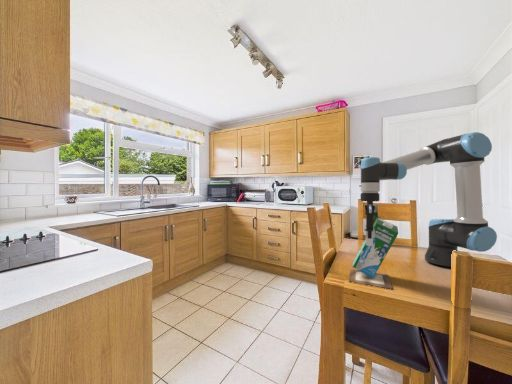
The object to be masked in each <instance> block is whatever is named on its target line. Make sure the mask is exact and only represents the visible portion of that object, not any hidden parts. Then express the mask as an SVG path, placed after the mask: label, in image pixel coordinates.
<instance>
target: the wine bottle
mask: <svg viewBox="0 0 512 384" xmlns="http://www.w3.org/2000/svg"><path fill="white" fill-rule="evenodd" d="M374 205H375V210H374V216H373V225H374V223H375V221H376V219H377V218H380V216H379V213H378V212H379V211H378V207H379V206H378V204H374Z"/></svg>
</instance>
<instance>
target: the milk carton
mask: <svg viewBox="0 0 512 384" xmlns="http://www.w3.org/2000/svg"><path fill="white" fill-rule="evenodd" d="M398 235H399V228H398V226H396V225H395V224H392V223H391V222H388V221H386V220H384V219H381V217H379V218H377V219H376V221H375V223H374V225H373V246H367V245H366V238H365V239H364V241H363V243H362V245H361V247H360V249H359V251H358V253H357V254H356V256H355V258H354V260H353V262H352V268H353V269H354V270H359V271H361V272H362V273H364V274H366V275H368V276H369V277H371V278H374V276H375V274H376V273H378V270H379V269H380V267H381V265H382V263H383V261H384V260H385V258H386V256H387V254H388V253H389V251H390V249H391V247H392V246H393V244H394V242H395V240H396V239H397V237H398Z"/></svg>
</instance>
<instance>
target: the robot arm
mask: <svg viewBox="0 0 512 384" xmlns="http://www.w3.org/2000/svg"><path fill="white" fill-rule="evenodd" d="M492 144H493V143H492V142H491V139H490V138H489V137H488V136H486V135H485V134H484V133H483V132H476V131H475V132H468V133H464V134H460V135H456V136H452V137H448V138H444V139H441V140H438V141H437V142H434V143H431V144H429V145H426V146H423V147H421V148H419V150H417V151H415V152H411V153H407V154H405V155H402V156H398V157H396V158H392V159H390V160H385V161H383V162H381V158H380V157H375V156H372V157H364V158H362V159H361V160H360V161H361V163H360V184H359V188H360V192H361V193H360V201H361V202H366V205H365V204H364V211H365V212H364V213H365V216H366V218H365V221H366V222H365V229H364V232H365V239H366V245H367V246H373V216H374V210H375V205H376V204H374V202H379V201H380V195H381V194H380V193H379V192H380V190H381V189H380V188H381V186H380V185H381V184H380V181H387V180H389V181H391V180H394V181H395V180H396V181H397V180H403V179H404V178H406V176H407V174H408V173H407V171H408V170H411V169H413V168H417V167H420V166H423V165H425V166H428V165H432V164H436V163H445V162H446V163H447V162H448V163H449V165H450V166H451V167H453V168H454V181H455V182H454V183H455V197H456V198H455V200H456V201H455V202H456V215H457V217H456V218H455V219H454V218H452V219H447V218H445V219H444V218H443V219H442V218H440V219H439V218H438V219H437V218H436V219H429V223H428V247H427V249H426V251H425V254H424V260H425V261H426V262H427V263H430V264H433V265H439V266H442V267H451V254H452V251H453V250H456V251H458V248H462V249H467V250H469V251H474V252H479V253H480V252H487V251H490V250H491V249H492V248H493V247H494V246H495V244H496V243H497V238H498V235H497V232H496V231H495V229H494V228H492V227H491V226H489V221H488V220H486V219H485V218H484V215H483V214H484V212H483V198H482V197H483V195H482V180H481V178H482V177H481V166H482V164H483V163H485V157H488V156H489V155H490V154H491V152H492V149H493V148H492V147H493V145H492ZM458 252H459V251H458Z"/></svg>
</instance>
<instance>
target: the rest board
mask: <svg viewBox="0 0 512 384" xmlns="http://www.w3.org/2000/svg"><path fill="white" fill-rule="evenodd" d="M351 282H354V283H353V284H357V283H359V284H358V285H362V284H365V285H364V286H368V285H370V286H369V287H373V286H375V288H379V287H381V288H380V289H385V288H386V289H385V290H390V289H391V290H393V286H392V283H391V280H390V277H389V275H388V274H387V273H386V274H385V273H378V272H376V274H375V276H374V278H371V277H369V276H368V275H366V274H364V273H362V272H361V271H359V270H357V269H354V268H353V269H352V268H350V271H349V278H348V283H351Z"/></svg>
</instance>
